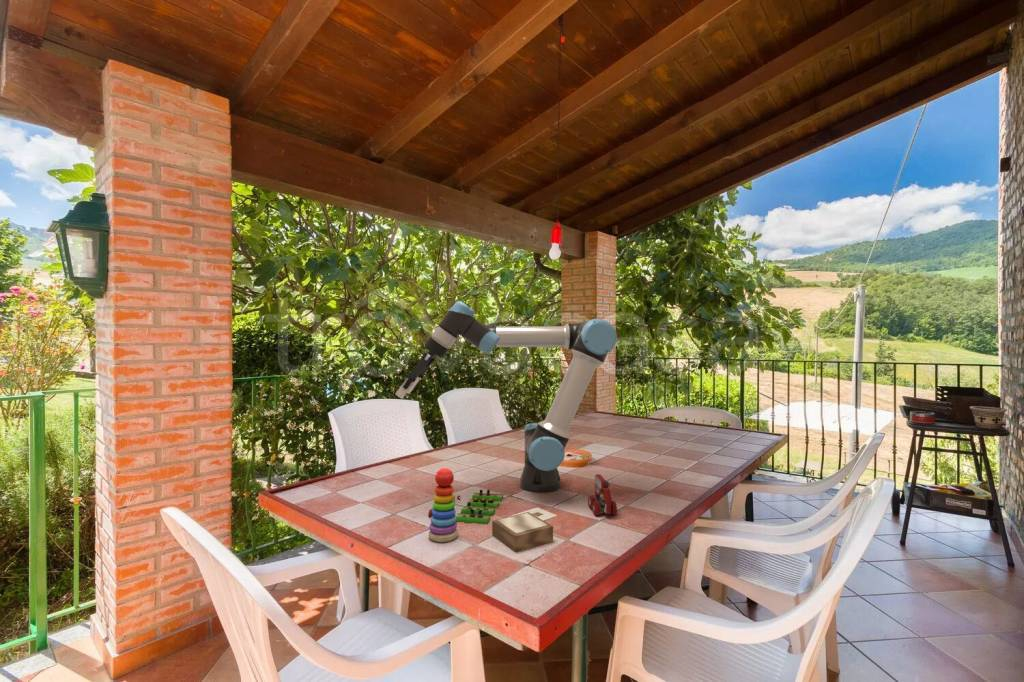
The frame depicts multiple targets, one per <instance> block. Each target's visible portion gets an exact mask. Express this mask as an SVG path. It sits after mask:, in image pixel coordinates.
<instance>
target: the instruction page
mask: <svg viewBox="0 0 1024 682" xmlns="http://www.w3.org/2000/svg"><path fill="white" fill-rule="evenodd" d="M526 512H529V513H531V514H533V515H534V516H536V517H538V518H539V519H541V520H543V521H545V522H546V521H548V520H550V519H553V518H555V517H558V515H557V514H554V513H552V512H550V511H547V510H545V509H542V508H541V507H534V508H532V509H527V510H524V511H522V512H518V513H516V514H515V513H514V514H512V515H508V516H507V517H510V516H514V515H518V514H522V513H526Z"/></svg>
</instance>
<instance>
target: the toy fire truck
mask: <svg viewBox="0 0 1024 682" xmlns="http://www.w3.org/2000/svg"><path fill="white" fill-rule="evenodd" d="M594 482H595V487H594V495H589V496H588V498H587V504H588V508H589V509H590V510H592V514H593V516H599V515H601V513H605V515H612V516H615V515H617V513H618V512H617V511H618V507H617V503H616V501H615V500H613V499H612V497H611V495H612V494H611V490H610V482H609V481H607V480H606V479H605V478H604V476H603V475H602V474H600V473H598V474H595V476H594Z"/></svg>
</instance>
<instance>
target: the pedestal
mask: <svg viewBox="0 0 1024 682" xmlns="http://www.w3.org/2000/svg"><path fill="white" fill-rule="evenodd" d="M517 514H518V513H517ZM513 515H514V516H512V515H509V516H510V517H508V516H506V517H501V518H498V519H493V520H491V530H492V531H491V534H492V535H491V536H493V537H494V538H495V539H497V540H498V541H500V542H501V543H502V544H503V545H505V546H506V547H508V548H509V549H510V550H512V551H513V552H515V553H517V552H520V551H523V550H527V549H530V548H534V547H537V546H541V545H544V544H548V543H552V542H554V526H553V525H552V524H550V523H548V522H546V520H545V521H543V520H541V519H539V518H538V517H536V516H534V515H533V514H531V513H529V512H526V513H522V514H518V515H515V514H513Z"/></svg>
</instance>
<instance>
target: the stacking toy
mask: <svg viewBox="0 0 1024 682" xmlns="http://www.w3.org/2000/svg"><path fill="white" fill-rule="evenodd" d="M454 479H455V475H454V473H453V471H452V470H451V469H449V468H445V467H444V468H440V469H439V470H438V471H436V474H435V476H434V480H435V483H436V485H437V486H435V488H434V492H435V494H434V495H433V500H434V502H433V503H432V508H433V507H434V508H433V510H432V515H433V516H432V517H430V523H429V527H428V528H429V531H428V538H429V539H430V540H431V541H434V542H438V543H444V542H445V543H447V542H450V541H453V540H455V539H457V537H458V535H459V531H458V529H457V527H458V522H456V520H457V517H456V515H457V514H456V508H455V507H456V501H455V502H454V500H453V499H454V496H455V495H454V494H453V493H454V486H452V484H453V482H454Z"/></svg>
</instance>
